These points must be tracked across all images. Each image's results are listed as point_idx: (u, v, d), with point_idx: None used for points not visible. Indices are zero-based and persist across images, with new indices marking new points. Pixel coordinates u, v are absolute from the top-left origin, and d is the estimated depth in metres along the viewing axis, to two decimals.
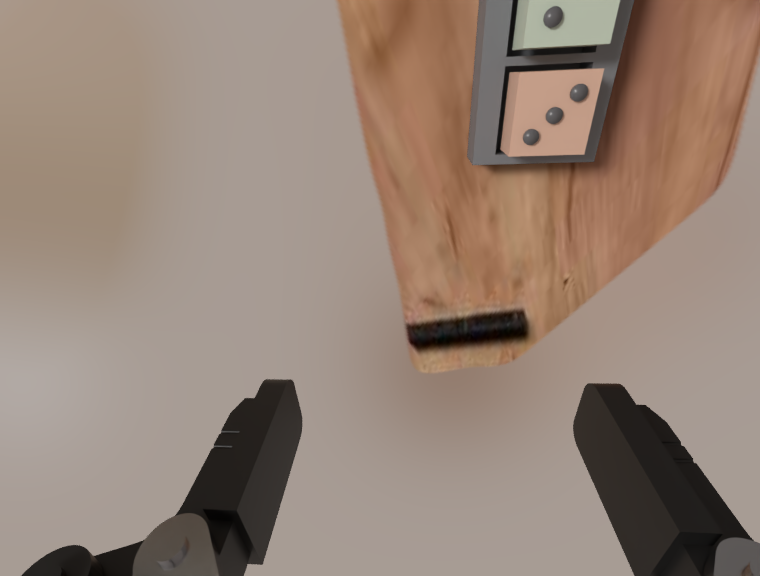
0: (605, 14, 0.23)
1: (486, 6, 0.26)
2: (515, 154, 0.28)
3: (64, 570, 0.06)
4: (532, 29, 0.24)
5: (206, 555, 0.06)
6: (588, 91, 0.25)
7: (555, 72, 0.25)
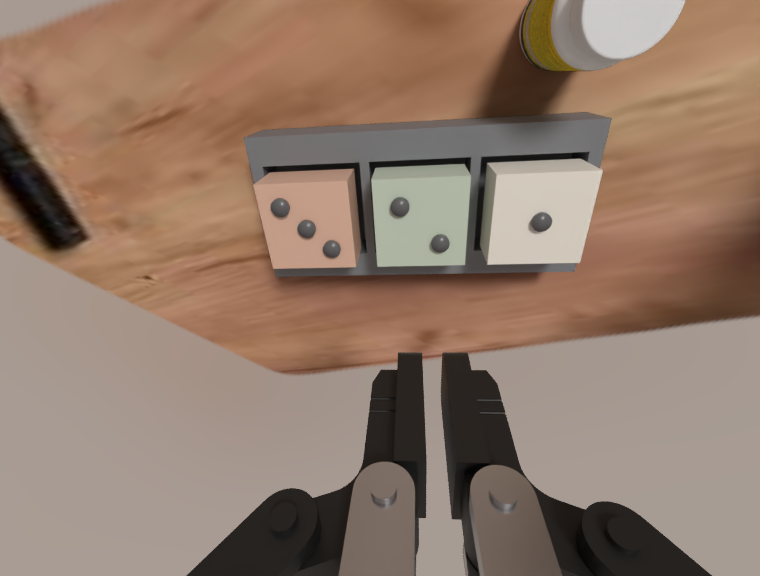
0: (401, 256, 0.23)
1: (417, 129, 0.22)
2: (257, 192, 0.22)
3: (293, 509, 0.07)
4: (389, 187, 0.21)
5: (408, 516, 0.07)
6: (334, 257, 0.23)
7: (349, 220, 0.22)
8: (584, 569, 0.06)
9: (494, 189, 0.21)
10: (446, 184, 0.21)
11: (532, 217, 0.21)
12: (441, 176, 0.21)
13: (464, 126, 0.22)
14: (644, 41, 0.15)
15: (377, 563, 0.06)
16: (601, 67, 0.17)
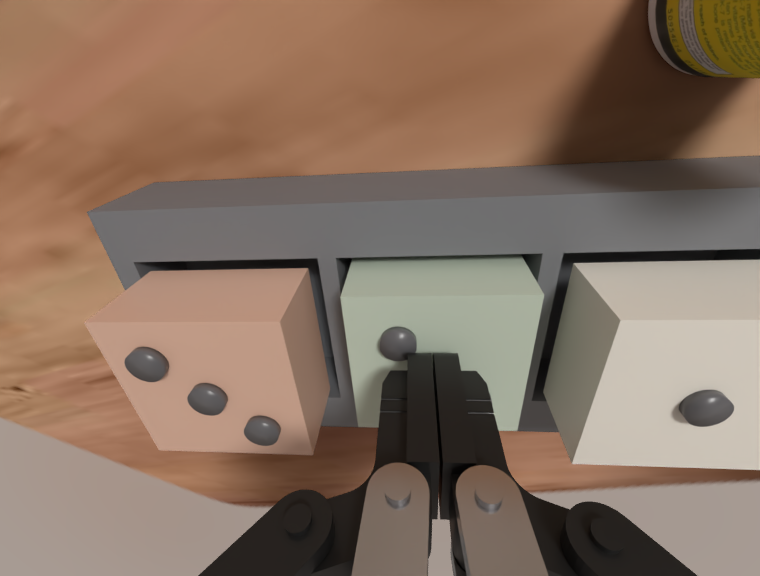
0: None
1: (434, 199, 0.11)
2: (96, 336, 0.10)
3: (308, 511, 0.07)
4: (376, 309, 0.11)
5: (422, 519, 0.07)
6: None
7: (292, 387, 0.11)
8: (567, 569, 0.06)
9: (607, 343, 0.09)
10: (492, 308, 0.10)
11: (686, 397, 0.10)
12: (482, 291, 0.10)
13: (533, 195, 0.10)
14: None
15: (390, 565, 0.06)
16: None
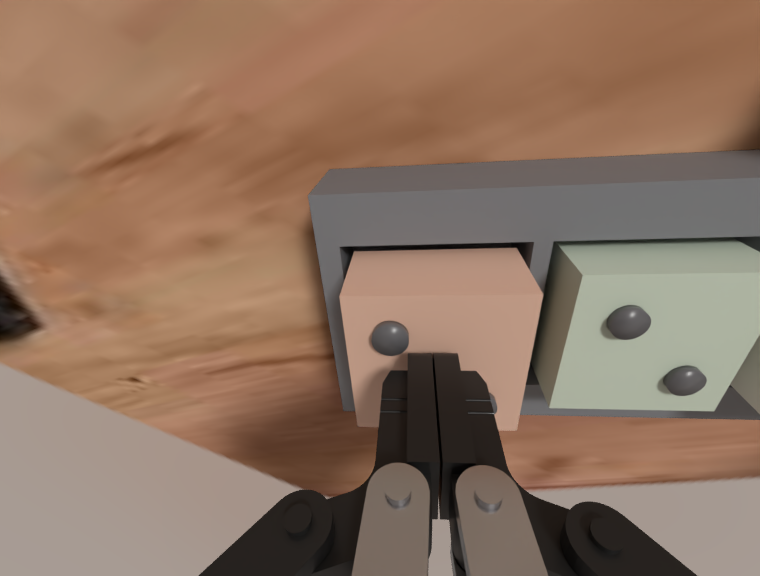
0: (599, 395, 0.13)
1: (675, 181, 0.11)
2: (346, 310, 0.11)
3: (308, 511, 0.07)
4: (615, 288, 0.11)
5: (422, 519, 0.07)
6: None
7: (526, 361, 0.11)
8: (567, 569, 0.06)
9: None
10: (737, 286, 0.10)
11: None
12: (728, 269, 0.10)
13: None
14: None
15: (390, 565, 0.06)
16: None
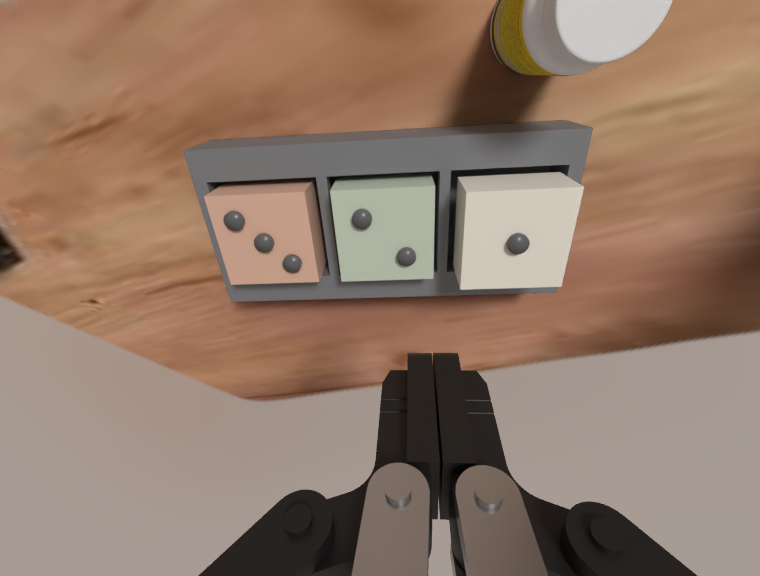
0: (366, 270, 0.22)
1: (379, 140, 0.20)
2: (209, 205, 0.20)
3: (308, 511, 0.07)
4: (349, 198, 0.20)
5: (422, 519, 0.07)
6: (295, 272, 0.22)
7: (309, 233, 0.21)
8: (567, 569, 0.06)
9: (464, 208, 0.19)
10: (409, 195, 0.19)
11: (508, 238, 0.19)
12: (404, 186, 0.19)
13: (431, 137, 0.19)
14: (628, 42, 0.13)
15: (390, 565, 0.06)
16: (580, 71, 0.15)
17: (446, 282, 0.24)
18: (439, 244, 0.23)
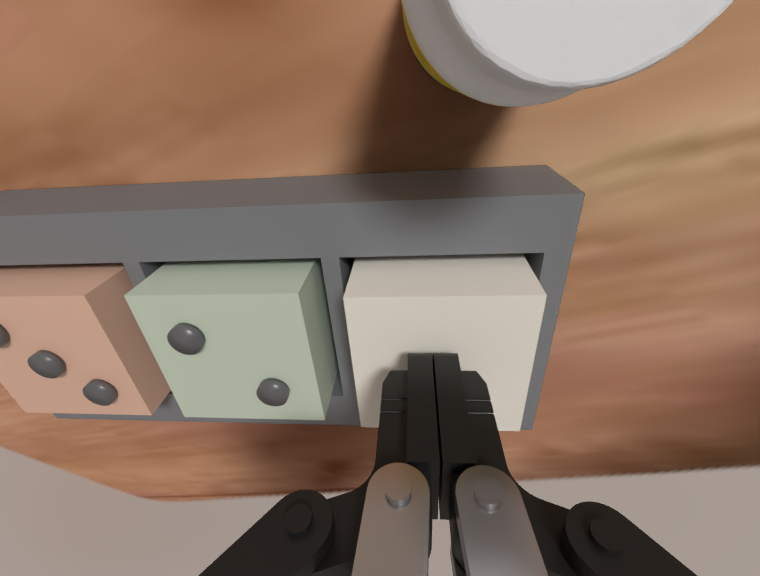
0: (218, 405, 0.14)
1: (210, 208, 0.11)
2: None
3: (308, 511, 0.07)
4: (159, 307, 0.11)
5: (422, 519, 0.07)
6: (110, 403, 0.14)
7: (114, 353, 0.13)
8: (567, 569, 0.06)
9: None
10: (258, 305, 0.11)
11: None
12: (248, 290, 0.11)
13: (296, 204, 0.11)
14: (657, 27, 0.04)
15: (390, 565, 0.06)
16: (541, 100, 0.07)
17: None
18: (339, 361, 0.14)
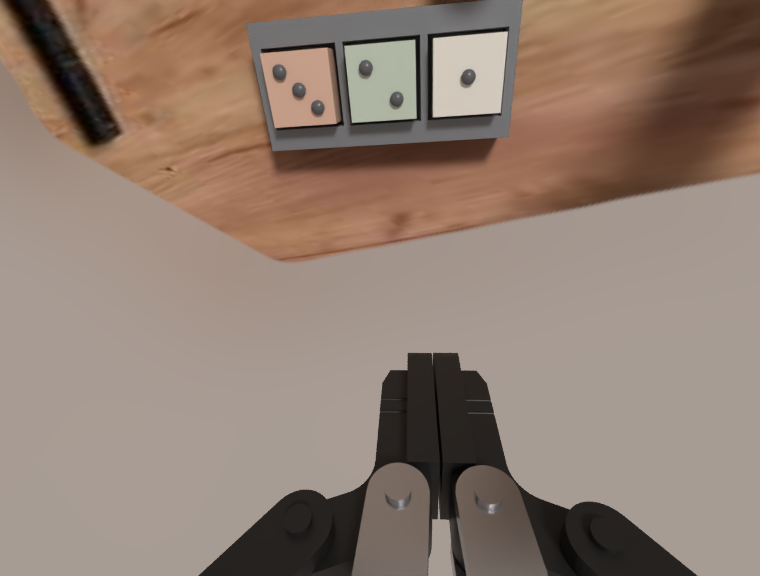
0: (369, 112, 0.31)
1: (378, 11, 0.29)
2: (263, 60, 0.30)
3: (308, 511, 0.07)
4: (357, 51, 0.29)
5: (422, 519, 0.07)
6: (319, 115, 0.32)
7: (330, 82, 0.30)
8: (567, 569, 0.06)
9: (433, 51, 0.29)
10: (398, 47, 0.29)
11: (462, 73, 0.29)
12: None
13: (413, 7, 0.29)
14: None
15: (390, 565, 0.06)
16: None
17: (427, 130, 0.33)
18: (421, 96, 0.32)
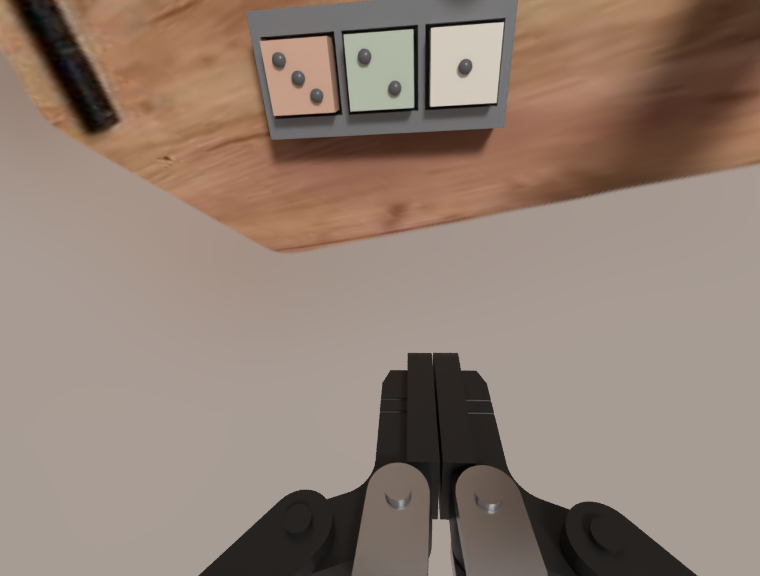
0: (367, 101, 0.32)
1: (376, 1, 0.29)
2: (262, 48, 0.30)
3: (308, 511, 0.07)
4: (356, 40, 0.29)
5: (422, 519, 0.07)
6: (318, 104, 0.32)
7: (329, 70, 0.31)
8: (567, 569, 0.06)
9: (430, 41, 0.29)
10: (396, 37, 0.29)
11: (459, 63, 0.30)
12: None
13: None
14: None
15: (390, 565, 0.06)
16: None
17: (425, 119, 0.33)
18: (419, 86, 0.32)
